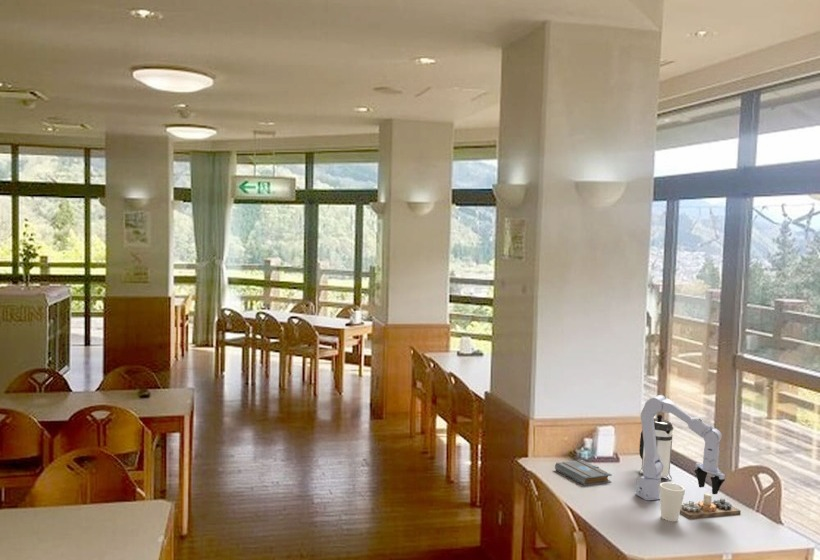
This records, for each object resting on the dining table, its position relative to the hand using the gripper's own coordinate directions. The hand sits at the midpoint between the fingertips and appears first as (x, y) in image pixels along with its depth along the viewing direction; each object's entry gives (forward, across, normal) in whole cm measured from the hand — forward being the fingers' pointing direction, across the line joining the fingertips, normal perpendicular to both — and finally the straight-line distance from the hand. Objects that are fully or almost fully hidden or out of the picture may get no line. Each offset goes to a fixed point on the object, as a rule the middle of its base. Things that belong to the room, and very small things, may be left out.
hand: (708, 490), depth 286 cm
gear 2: (+7, 0, -8) cm, 11 cm away
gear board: (+9, 0, 0) cm, 9 cm away
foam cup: (+9, -3, +21) cm, 23 cm away
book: (+10, +47, +29) cm, 56 cm away
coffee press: (+9, +42, -6) cm, 43 cm away
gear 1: (+7, 0, +8) cm, 11 cm away
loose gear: (+7, 0, 0) cm, 7 cm away
